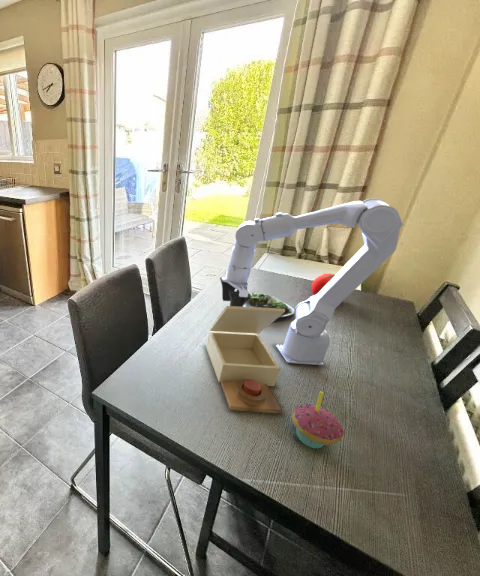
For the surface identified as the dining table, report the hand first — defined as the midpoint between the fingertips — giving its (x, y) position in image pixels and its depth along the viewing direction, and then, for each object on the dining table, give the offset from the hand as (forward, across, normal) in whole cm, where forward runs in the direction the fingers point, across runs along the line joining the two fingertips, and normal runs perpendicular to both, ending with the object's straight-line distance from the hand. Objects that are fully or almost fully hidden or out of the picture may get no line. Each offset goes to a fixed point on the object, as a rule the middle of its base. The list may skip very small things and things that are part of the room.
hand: (229, 306), depth 91 cm
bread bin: (+10, +14, 0) cm, 17 cm away
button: (+8, +26, -1) cm, 27 cm away
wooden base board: (+10, +26, -1) cm, 28 cm away
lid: (-2, +11, 0) cm, 11 cm away
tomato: (+5, -29, +46) cm, 55 cm away
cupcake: (+10, +36, +8) cm, 38 cm away
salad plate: (+10, -18, +19) cm, 28 cm away
